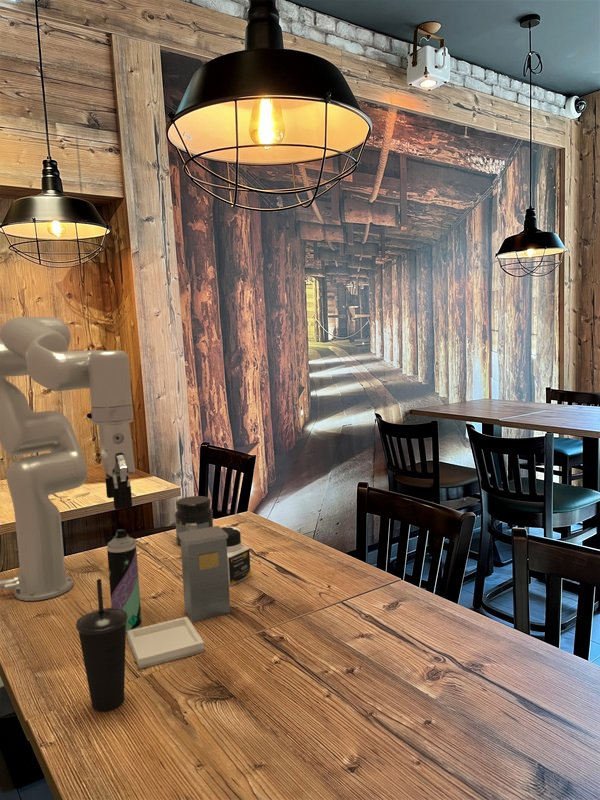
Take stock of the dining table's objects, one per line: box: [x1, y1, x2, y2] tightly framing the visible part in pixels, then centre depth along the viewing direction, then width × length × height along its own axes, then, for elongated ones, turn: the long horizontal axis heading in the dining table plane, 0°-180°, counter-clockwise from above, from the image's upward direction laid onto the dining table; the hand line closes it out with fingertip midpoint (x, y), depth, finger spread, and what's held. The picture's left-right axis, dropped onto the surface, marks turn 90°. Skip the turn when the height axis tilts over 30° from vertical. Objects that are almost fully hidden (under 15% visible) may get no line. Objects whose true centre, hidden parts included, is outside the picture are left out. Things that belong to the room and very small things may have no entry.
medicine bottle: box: [220, 526, 252, 587], centre depth 140 cm, size 7×7×12 cm
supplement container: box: [174, 495, 214, 546], centre depth 167 cm, size 10×10×12 cm
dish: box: [126, 616, 205, 670], centre depth 110 cm, size 12×12×2 cm
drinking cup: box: [75, 578, 128, 712], centre depth 92 cm, size 8×8×20 cm
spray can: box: [106, 528, 143, 635], centre depth 117 cm, size 6×6×20 cm
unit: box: [178, 525, 231, 623], centre depth 123 cm, size 9×7×17 cm
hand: (119, 502), depth 115 cm, fingers open, 9 cm apart
